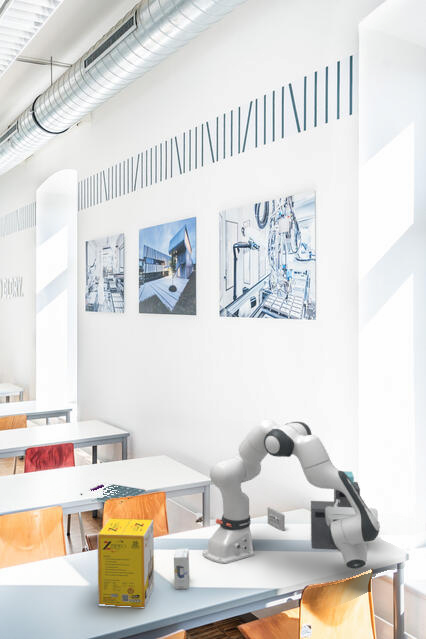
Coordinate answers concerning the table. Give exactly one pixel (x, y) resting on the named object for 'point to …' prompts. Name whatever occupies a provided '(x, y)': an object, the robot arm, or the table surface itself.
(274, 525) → the cassette
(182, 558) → the ink box
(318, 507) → the rack
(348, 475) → the plug
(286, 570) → the table surface
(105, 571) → the packaging box
